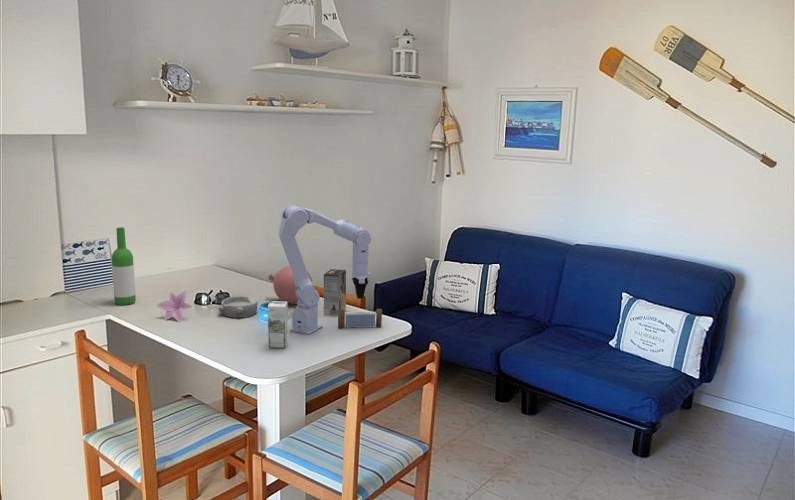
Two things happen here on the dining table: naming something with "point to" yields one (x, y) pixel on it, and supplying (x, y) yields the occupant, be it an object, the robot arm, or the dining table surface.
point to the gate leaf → (360, 319)
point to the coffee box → (334, 291)
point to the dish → (238, 307)
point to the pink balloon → (285, 285)
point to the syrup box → (277, 324)
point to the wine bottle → (123, 271)
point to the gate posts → (342, 318)
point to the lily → (175, 306)
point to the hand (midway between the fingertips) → (359, 297)
